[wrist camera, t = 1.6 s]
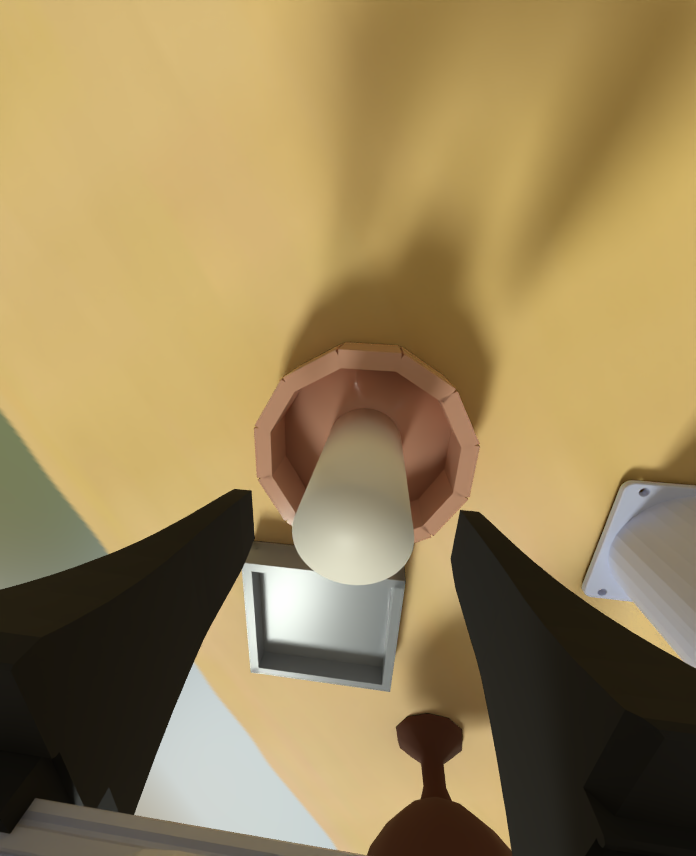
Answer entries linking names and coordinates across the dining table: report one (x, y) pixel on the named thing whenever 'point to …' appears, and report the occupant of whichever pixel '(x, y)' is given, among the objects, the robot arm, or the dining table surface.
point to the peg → (357, 503)
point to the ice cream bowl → (434, 801)
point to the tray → (319, 621)
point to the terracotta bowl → (380, 390)
